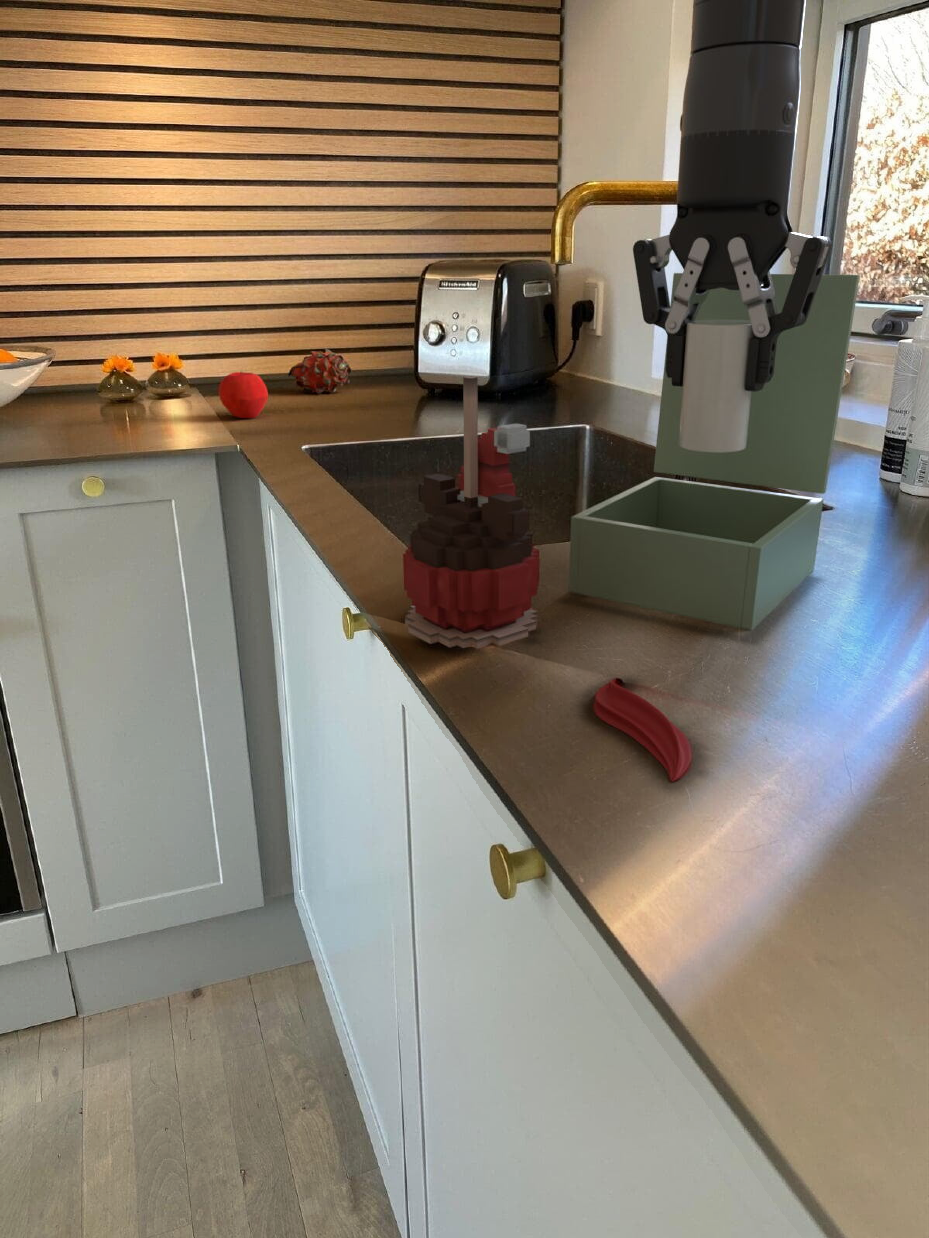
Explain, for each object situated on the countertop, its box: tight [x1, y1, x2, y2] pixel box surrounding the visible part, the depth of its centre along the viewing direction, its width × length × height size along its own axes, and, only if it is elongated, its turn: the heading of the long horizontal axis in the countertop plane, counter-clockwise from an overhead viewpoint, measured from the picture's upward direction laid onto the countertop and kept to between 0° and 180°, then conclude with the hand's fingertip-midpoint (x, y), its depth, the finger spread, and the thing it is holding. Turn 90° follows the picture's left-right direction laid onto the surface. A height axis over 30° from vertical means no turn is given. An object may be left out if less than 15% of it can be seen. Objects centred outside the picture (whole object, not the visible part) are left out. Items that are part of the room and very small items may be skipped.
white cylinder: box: [679, 319, 755, 453], centre depth 70 cm, size 5×5×9 cm
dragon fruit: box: [287, 349, 352, 395], centre depth 177 cm, size 8×8×12 cm
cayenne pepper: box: [593, 677, 693, 783], centre depth 54 cm, size 12×5×2 cm, turn 179°
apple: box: [218, 370, 269, 419], centre depth 152 cm, size 8×8×7 cm
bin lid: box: [653, 272, 861, 495], centre depth 78 cm, size 16×15×5 cm
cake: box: [402, 375, 540, 650], centre depth 65 cm, size 11×9×18 cm
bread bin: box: [568, 476, 824, 631], centre depth 75 cm, size 16×15×7 cm
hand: (716, 386), depth 70 cm, fingers closed on white cylinder, 5 cm apart
